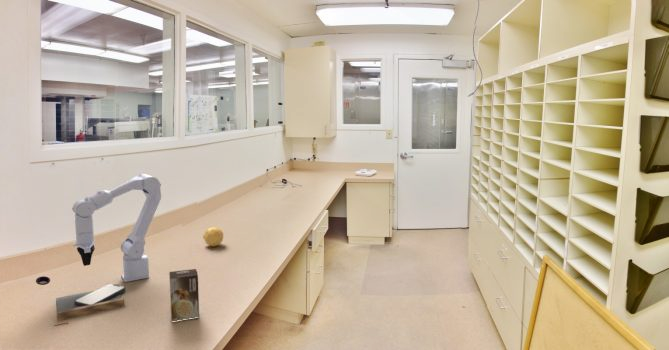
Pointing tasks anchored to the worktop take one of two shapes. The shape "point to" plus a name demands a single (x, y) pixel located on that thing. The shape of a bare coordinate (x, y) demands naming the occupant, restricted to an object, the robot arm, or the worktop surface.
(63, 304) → the mat
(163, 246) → the worktop surface
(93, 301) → the phone case
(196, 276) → the coffee box
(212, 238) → the stress ball
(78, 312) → the back rail
